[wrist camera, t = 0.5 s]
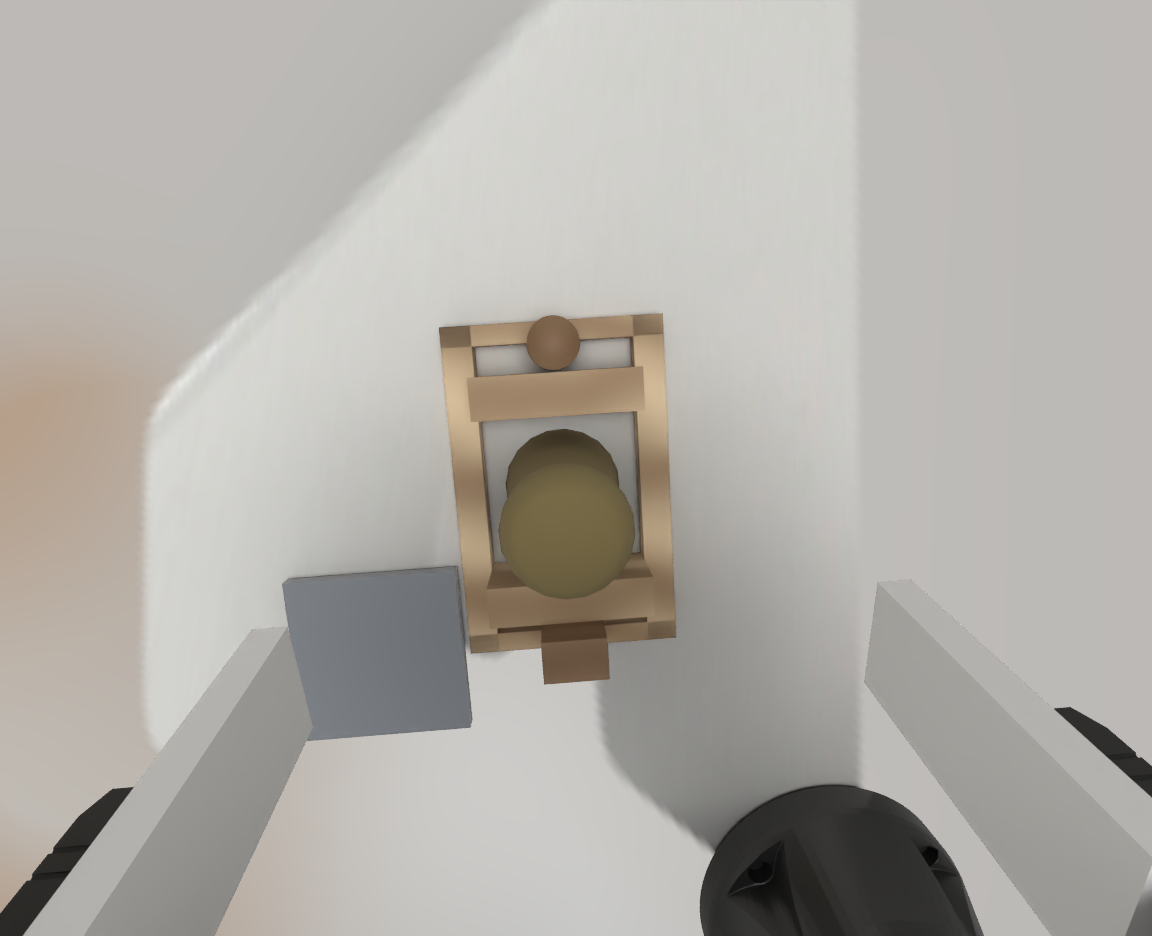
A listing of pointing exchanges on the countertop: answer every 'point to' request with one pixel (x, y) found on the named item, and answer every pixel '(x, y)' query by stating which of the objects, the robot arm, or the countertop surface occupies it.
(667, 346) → the countertop surface
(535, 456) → the cork
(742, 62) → the countertop surface
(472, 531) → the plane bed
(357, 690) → the slate coaster
